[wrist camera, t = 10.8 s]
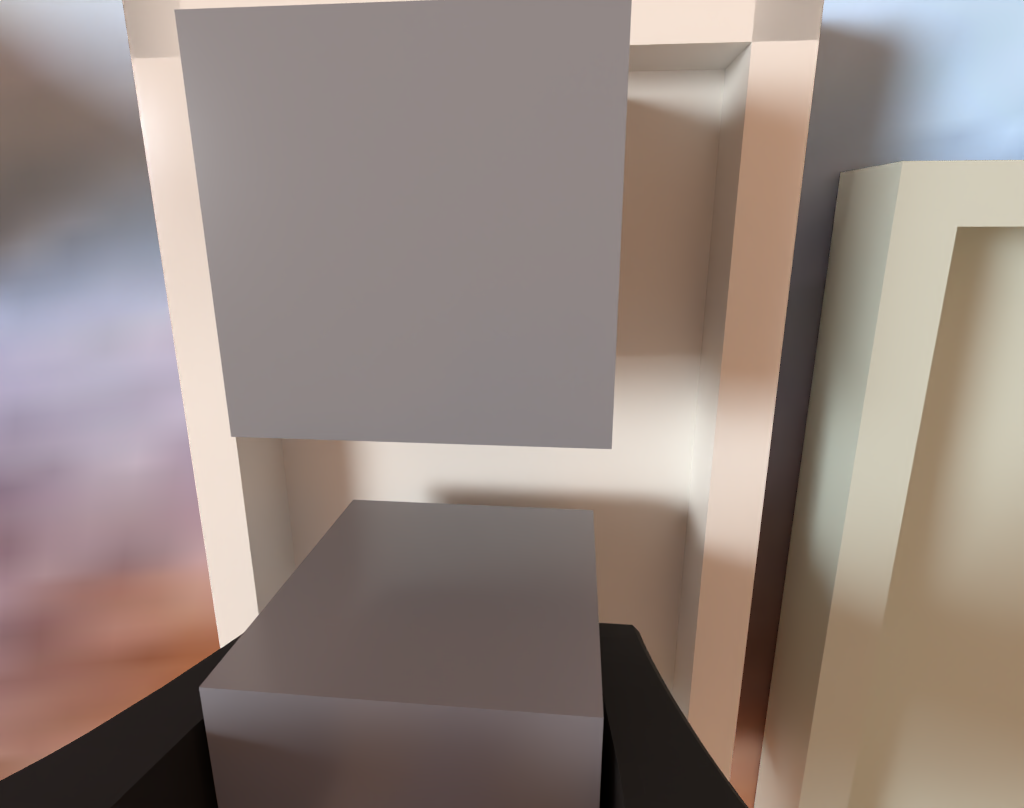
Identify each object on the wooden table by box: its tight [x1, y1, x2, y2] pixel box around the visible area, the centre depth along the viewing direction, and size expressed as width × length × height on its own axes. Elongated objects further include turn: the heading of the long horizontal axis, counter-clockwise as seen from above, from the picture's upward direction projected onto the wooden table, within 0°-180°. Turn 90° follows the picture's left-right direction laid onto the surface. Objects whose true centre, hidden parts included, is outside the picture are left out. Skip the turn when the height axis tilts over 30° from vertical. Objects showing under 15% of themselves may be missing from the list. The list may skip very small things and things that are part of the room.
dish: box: [122, 0, 824, 782], centre depth 11 cm, size 13×9×2 cm
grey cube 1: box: [174, 0, 632, 449], centre depth 8 cm, size 4×4×4 cm
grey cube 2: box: [199, 500, 604, 808], centre depth 9 cm, size 4×4×4 cm
